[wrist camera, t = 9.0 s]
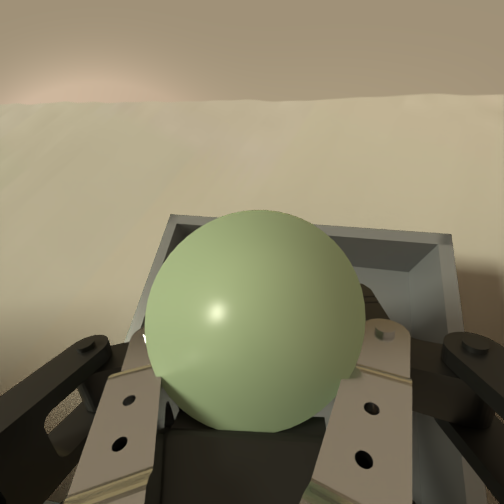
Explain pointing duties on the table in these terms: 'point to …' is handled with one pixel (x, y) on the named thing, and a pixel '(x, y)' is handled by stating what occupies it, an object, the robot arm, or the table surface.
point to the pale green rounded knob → (255, 322)
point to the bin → (399, 310)
